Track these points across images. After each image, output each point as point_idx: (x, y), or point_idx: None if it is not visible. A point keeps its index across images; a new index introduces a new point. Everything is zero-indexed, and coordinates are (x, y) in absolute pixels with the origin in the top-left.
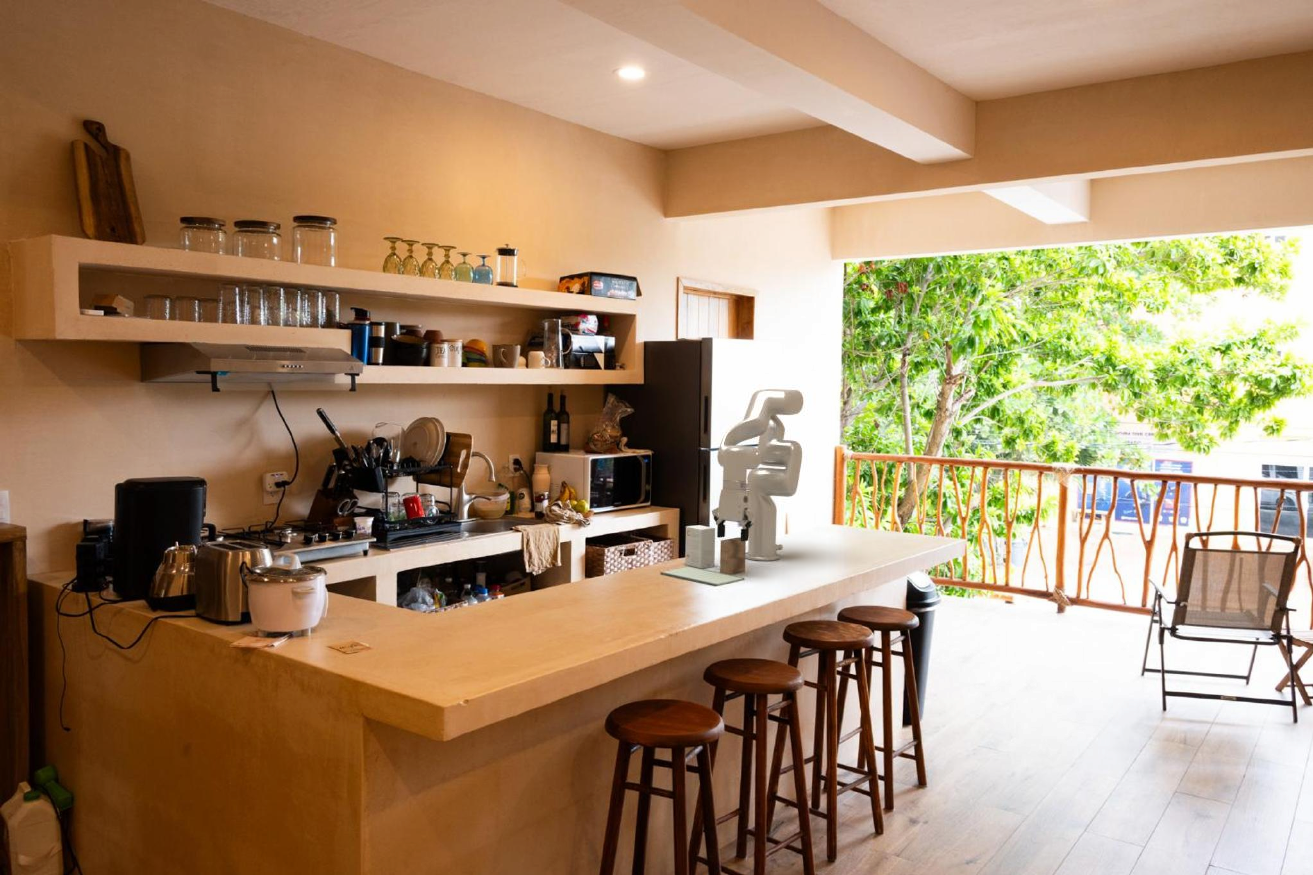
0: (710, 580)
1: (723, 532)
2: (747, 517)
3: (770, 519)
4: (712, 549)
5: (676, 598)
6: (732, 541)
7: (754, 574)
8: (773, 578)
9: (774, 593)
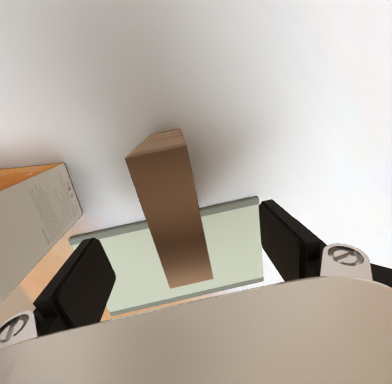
0: (231, 272)
1: (93, 267)
2: (367, 316)
3: None
4: (29, 195)
5: None
6: (207, 250)
7: (222, 125)
8: (294, 112)
9: (379, 218)
